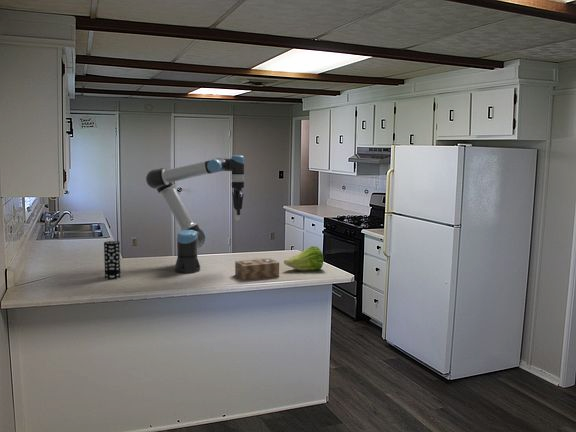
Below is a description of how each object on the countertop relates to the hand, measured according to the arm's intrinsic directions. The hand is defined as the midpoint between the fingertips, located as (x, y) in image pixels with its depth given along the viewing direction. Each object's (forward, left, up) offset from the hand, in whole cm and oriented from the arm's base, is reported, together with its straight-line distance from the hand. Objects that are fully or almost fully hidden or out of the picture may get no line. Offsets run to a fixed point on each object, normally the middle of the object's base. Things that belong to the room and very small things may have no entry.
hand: (237, 220), depth 325 cm
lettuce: (+34, -21, -30) cm, 50 cm away
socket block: (+3, -23, -29) cm, 37 cm away
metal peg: (+9, -23, -29) cm, 38 cm away
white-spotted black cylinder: (-73, +5, -30) cm, 79 cm away
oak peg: (-3, -23, -29) cm, 37 cm away
